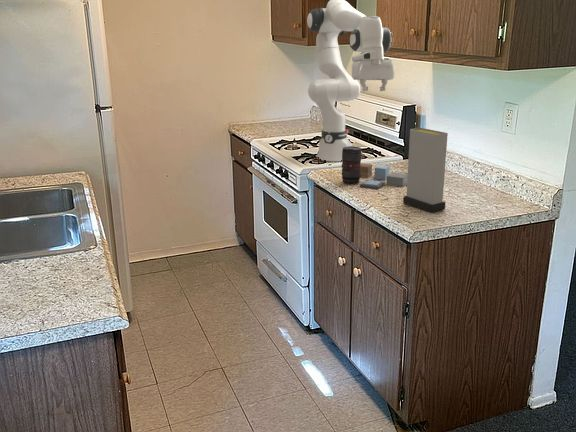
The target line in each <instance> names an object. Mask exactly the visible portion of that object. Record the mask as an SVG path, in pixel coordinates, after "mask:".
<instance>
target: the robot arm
mask: <svg viewBox="0 0 576 432" xmlns="http://www.w3.org/2000/svg"><path fill="white" fill-rule="evenodd" d="M306 19H307V20H306V21H307V22H306V23H307V27H308V30H309V31H311V32H313V33H317V35H316V40H315V49H316V57H317V64H318V69H319V70H320V72H321V73H322V74H324V75H327V76H328V78H319V79H316V80H312V81H311V82H310V83H309V85H308V88H307V93H308V96H309V99H310V100H311V101H312V102H314V103H315V104H316V105H317V106H318V108H319V110H320V113H321V120H322V130H321V139H320V140H319V143H318V153H316V156H315V157H316V158H318V157H319V158H318V159H319V160H320V159H321V161H324V160H326V161H325V162H342V161H341V160H342V150H343V147H346V146H353V143H352V142H351V141H350V140H349V139H348V134H349V129H346V114H345V113H344V111H343V110H341V109H339V108H337V107H336V105H335V103H336V102H337V103H338V102H349V101H355V100H357V99H358V98H359V96H360V94H361V87H362V92H368V91H369V86H367V84H366V82H367V81H380V82H381V86H379V92H385V91H386V86H387V84H388V81H391V80H393V79H394V77H395V71H394V65H393V60H392V59H391V58H390V57H389V56H386V57H385V56H384V54H385V53H386V52H388V51H389V50H390V49H391V48H390V47H392V46H391V42H392V37H391V33H392V31H391V30H390V29H389V28H388V27H383V25H382V20H381V17H380V16H377V15H374V16H373V15H370V16H369V15H368V16H367V15H366V14H364V13H362V12H360V11H358V10H357V9H356V8H354V7H353V6H352V5H351V3H349V2H348V1H346V0H329V1H328V2H327V4H326V8H323V7H317V8H314V9H311V10H310V11H309V12H308V14H307V18H306ZM390 31H391V32H390ZM348 32H350V34H349V38H348V39H349V40H348V41H349V43H348V44H349V47H350V48H351V50H352V51H353V52H355V53H358V54H355V55H353V56H351V62H352V64H351V75H350V74H349V73H348V72H347V70H346V69H345V67H344V64H343V62H342V55H341V52H340V45H339V42H338V37H339V36H341V37H344V36H345V33H348Z"/></svg>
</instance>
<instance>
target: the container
mask: <svg viewBox="0 0 576 432" xmlns="http://www.w3.org/2000/svg"><path fill="white" fill-rule="evenodd" d="M448 134H449V133H448V132H445V131H439V130H434V129H428V128H424V127H416V128H410V129H409V144H408V145H409V146H408V161H407V174H408V177H407V184H406V195H404V196H403V200H402V202H403V204H405V205H408V206H411V207H412V208H413V207H414V208H416V209H419V210H423V211H424V212H429V213H436V212H438V211H439V212H440V211H443V210H445V209H446V202H445V201H444V185H445V175H446V174H445V172H446V160H447V159H446V158H447V146H448Z"/></svg>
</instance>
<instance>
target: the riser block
mask: <svg viewBox="0 0 576 432" xmlns="http://www.w3.org/2000/svg"><path fill="white" fill-rule="evenodd" d="M407 177H408V173H401V172H393V171H392V172H391V173H390V172H389V175H388V176H387V179H386V183H385V185H386V186H392V187H394V186H395V187H401V188H402V187H405V185H407Z"/></svg>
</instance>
